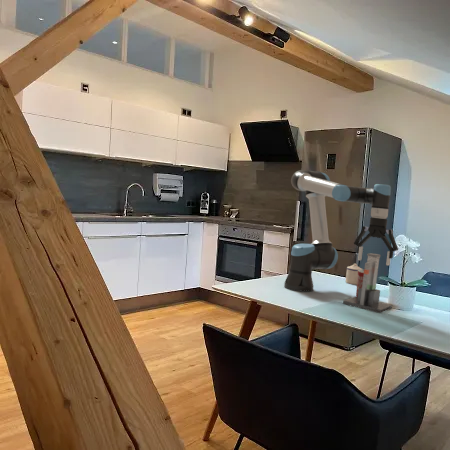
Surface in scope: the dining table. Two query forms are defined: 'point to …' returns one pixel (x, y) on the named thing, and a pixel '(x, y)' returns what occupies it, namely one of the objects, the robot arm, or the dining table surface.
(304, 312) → the dining table surface
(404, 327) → the dining table surface
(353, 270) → the teacup with lid
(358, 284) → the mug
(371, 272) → the column
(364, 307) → the stand
